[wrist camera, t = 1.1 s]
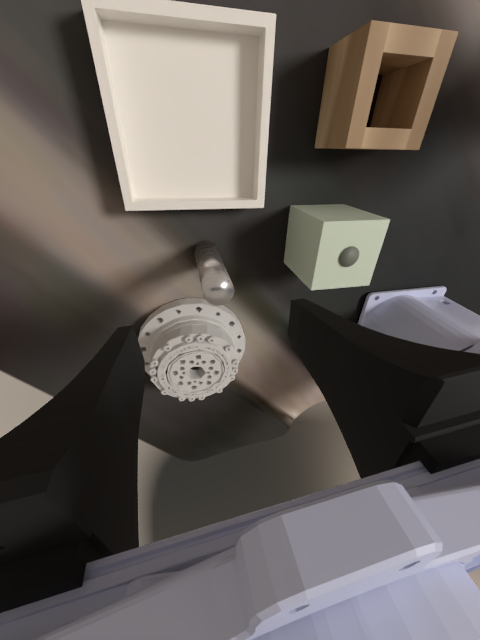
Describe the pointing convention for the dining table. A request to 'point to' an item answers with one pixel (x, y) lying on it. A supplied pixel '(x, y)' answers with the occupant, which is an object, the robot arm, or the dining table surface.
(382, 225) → the green block
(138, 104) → the tray
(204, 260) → the pin
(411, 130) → the wooden square holder
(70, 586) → the robot arm
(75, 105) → the dining table surface
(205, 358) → the mechanical component
